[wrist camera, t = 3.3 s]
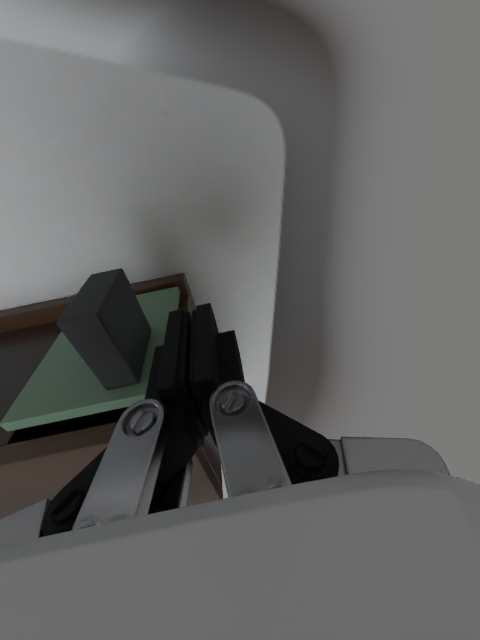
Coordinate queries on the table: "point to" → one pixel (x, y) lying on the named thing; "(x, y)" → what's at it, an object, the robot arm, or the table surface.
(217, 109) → the table surface
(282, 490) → the robot arm
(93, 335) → the sliding door
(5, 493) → the cupboard
